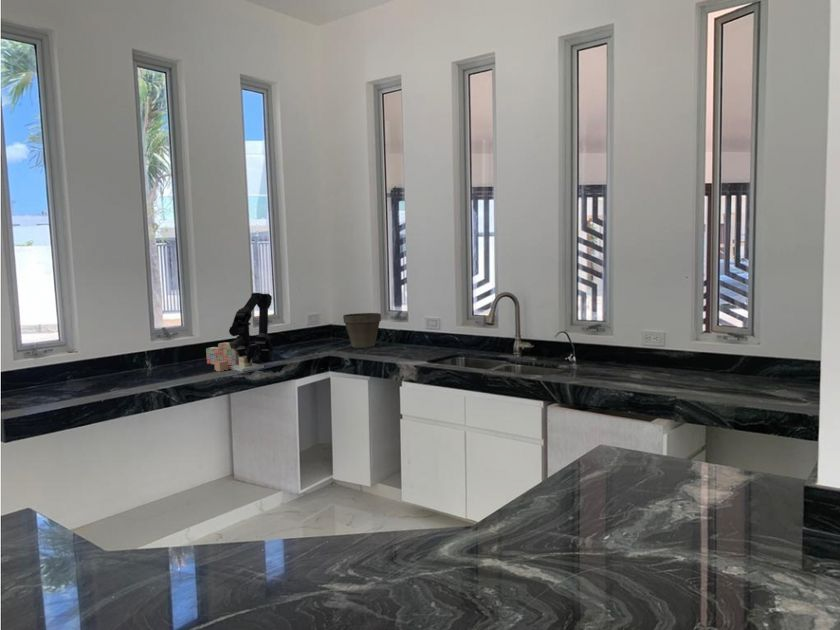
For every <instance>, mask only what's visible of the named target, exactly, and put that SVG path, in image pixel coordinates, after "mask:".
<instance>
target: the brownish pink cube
mask: <svg viewBox="0 0 840 630" xmlns="http://www.w3.org/2000/svg"><path fill="white" fill-rule="evenodd" d="M213 365H214V371H215V370H216V371H215V372H219V371H221V372H225V371H224V370H227V371H229V369H228V366H229V365H228V361H216V362H214V364H213Z"/></svg>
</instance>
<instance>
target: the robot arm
mask: <svg viewBox="0 0 840 630" xmlns="http://www.w3.org/2000/svg"><path fill="white" fill-rule="evenodd" d="M272 300H273V297H272V295H271V294H270V293H261V292H253V293H251V295H250V298H249V299H248V301H247V302H246V303H245V305H244V306H243V307H241V308H239V309H238V310H237V311H236V313H235V315H234V318H233V320H232V321H233V322H232V323H231V325H230V327H229V330H228V332H229V334H230V335H231V336H232V337H236V339H234V340H232V341H230V342H228V343H229V345H230V347H231V349H234V350H235V351H236V352H237V353H238V355H239V357H242V356H247V360H248V363H250V361H251V359H252V360H253V356H254V354H255V352H257V353H258V360H257V363H263V364H266V363H269V362H274V359H273V360H272V352H274V349H275V347H274V346H273V343H272V342H271V338H270V336H269V334H268V333H269V332H268V331H269V330H268V329H269V327H268V325H269V308H270V307H271V305H272ZM256 306H257V307H258V308H259V311H258V312H259V313H258V315H259V317H258V335H256V336H255V338H254V341H255V342H254V343H252V342H251V341H250V340H251V339H250V338H252V335H250V326H251V323H250V320H251V319H252V314H253V313H252V312H253V311H254V309H255V307H256ZM245 354H246V355H245Z"/></svg>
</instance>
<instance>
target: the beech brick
mask: <svg viewBox="0 0 840 630" xmlns="http://www.w3.org/2000/svg"><path fill="white" fill-rule="evenodd" d="M252 363H253V358H252V359H251V361H250V363H248V360H247V355H244V356H242V357H239V366H242V367H247V366H252Z"/></svg>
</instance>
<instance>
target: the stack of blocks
mask: <svg viewBox="0 0 840 630" xmlns="http://www.w3.org/2000/svg"><path fill="white" fill-rule="evenodd" d="M229 343H230V342H229V341H228V342H227V341H226V342H220V343H218V344H217V346H212V347H208V348H207V347H206V348H205V354H206V365H215V364H214V362H216V361H228V366H234V365H239V355H238V353H237V352H236V351H235V350H234V349H231V347H230V345H229Z"/></svg>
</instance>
